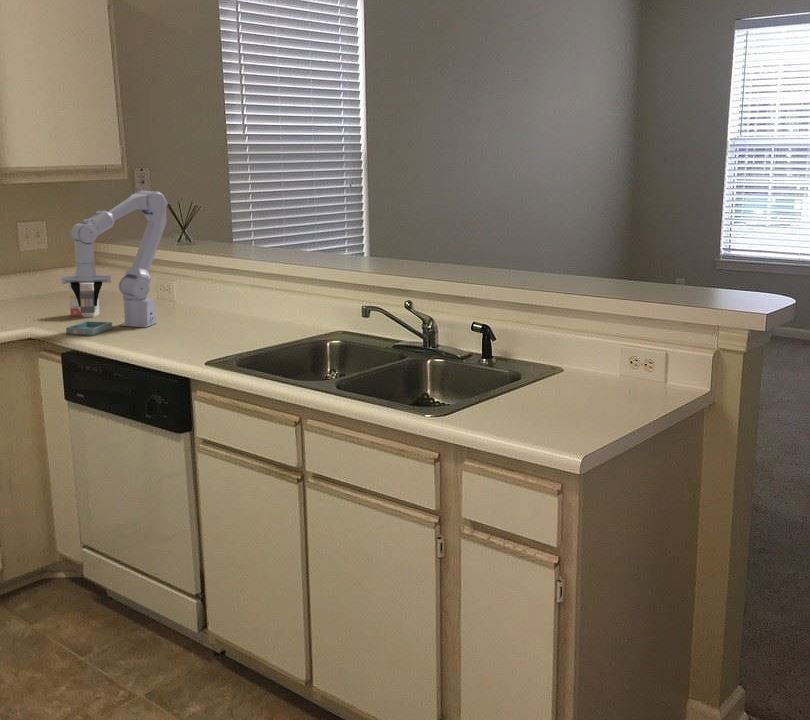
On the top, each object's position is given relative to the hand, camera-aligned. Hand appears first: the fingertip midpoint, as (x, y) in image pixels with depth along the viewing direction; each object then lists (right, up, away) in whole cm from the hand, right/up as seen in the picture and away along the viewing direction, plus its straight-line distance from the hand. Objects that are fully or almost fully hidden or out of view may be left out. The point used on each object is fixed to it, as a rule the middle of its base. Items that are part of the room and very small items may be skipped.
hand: (88, 305), depth 286 cm
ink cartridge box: (-10, -2, +27) cm, 29 cm away
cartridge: (0, -2, 0) cm, 2 cm away
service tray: (0, -8, +2) cm, 8 cm away
